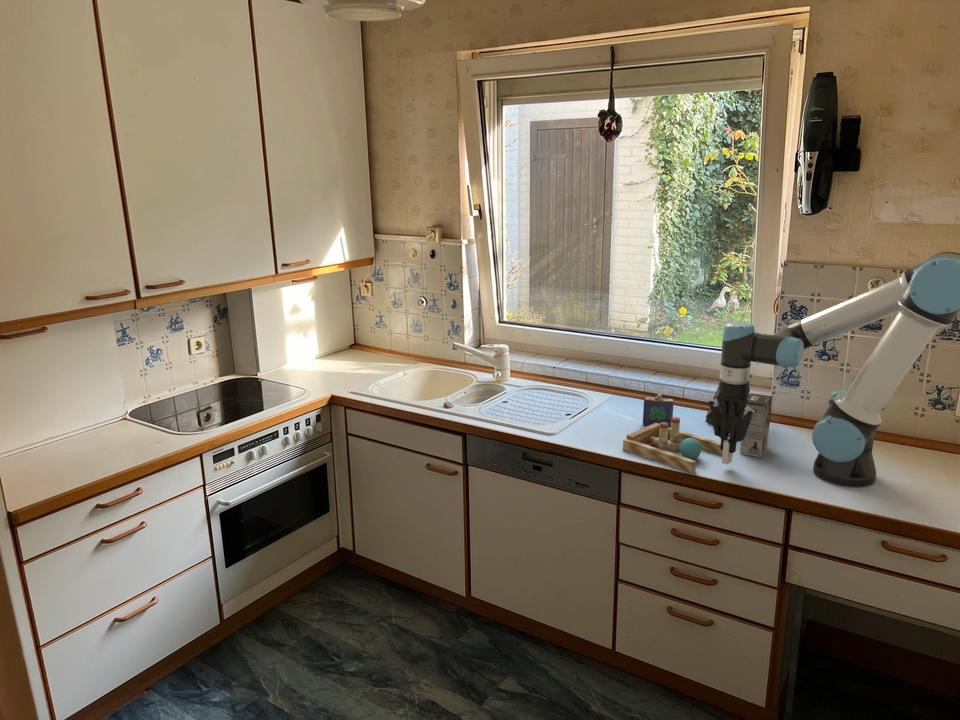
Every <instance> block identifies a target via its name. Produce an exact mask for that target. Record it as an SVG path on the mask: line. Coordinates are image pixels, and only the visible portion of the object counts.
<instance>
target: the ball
mask: <svg viewBox="0 0 960 720" xmlns="http://www.w3.org/2000/svg"><path fill="white" fill-rule="evenodd" d="M679 444H680V453H681V454H682V456H683V457H685V458H688V459H691V460H695V459H697V458H698V457H699V456H700V454H701V453H702V451H703V449H702V448H701V444H700V443H699V442H698V441H697V440H696V439H694V438H687V439H685V440H683V441H682V442H681V443H679Z"/></svg>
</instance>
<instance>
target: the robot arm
mask: <svg viewBox="0 0 960 720" xmlns="http://www.w3.org/2000/svg"><path fill="white" fill-rule="evenodd" d="M959 312H960V252H955V251H943V252H939V253H935V254H934V255H931V256H930V257H928V258H927V259H925V260H923V261H922V262H921V263H918V264H917V265H915V266H912V267H911V268H908V269H906V270H904V271H902V274H901V275H900V277H898V278H896V279H894V280H890V281H889V282H886V283H884V284H882V285H879V286H877V287H875V288H872V289H871V290H868V291H865V292H863V293H861V294H859V295H856V296H853V297H851V298H850V299H847V300H845V301H842V302H840V303H838V304H835V305H832V306H830V307H828V308H826V309H824V310H821V311H818V312H817V313H814V314H811V315H809V316H807V317H805V318H802V319H800V320H798V321H795V322H794V323H788V324H786V325H784V326H781V328H779V330H778V331H776V332H775V333H773V334H768V333H767V334H766V333H759V332H756V330H755V325H754V324H753V323H750V322H745V321H731V322H728V323H726V324H725V325H724V328H723V334H722V335H723V336H722V339H721V340H722V344H721V357H720V359H721V360H720V370H719V378H720V380H719V381H718V386H719V390H718V392H719V394H718V396H717V399H713V398H712V399H713V400H712V399H711V400H709V401H708V402H707V404H708V406H709V407H710V408H711V412H712V419H713V426H712V427H713V431H714V432H713V433H714V435H715V436H716V437H718V438H720V443H721V446H720V449H721V450H722V451H723V455H721V457H722V459H721V464H724V465H726V466H727V465H729V464H730V463H732V462H733V454H734V453H736V451H737V444H738V443H741V441H742V440H743V439H744V438H745V435H746V432H747V429H748V427H749V424H750V421H751V418H752V416H753V415H754V414H755V413H756V410H755V409H751V408H750V407H749V406H748V400H747V396H748V389H749V388H750V379H751V378H750V374H751V366H752V365H751V364H752V362H753V363H757V364H758V363H759V364H760V363H761V364H765V365H772V366H777V367H778V366H779V367H782V368H798V367H799V366H800V364H801V362H802V360H803V356H804V350H807V349H809V348H812V347H814V346H816V345H819V344H822V343H823V342H826V341H828V340H831V339H834V338H837V337H839V336H841V335H844V334H847V333H849V332H851V331H854V330H857V329H859V328H861V327H864V326H866V325H868V324H869V325H870V324H872V323H874V322H877V321H879V320H882V319H885V318H886V317H889V316H893V315H894V314H896V313H897V314H896V316H895V318H894V319H893V320H892V321H891V323H890V325H889V326H888V328H887V329H886V331H885V332H884V334H883V335H882V337H881V338H880V340H879V341H878V343H877V344H876V347H874V349H873V351H872V352H871V354H870V355H869V356H868V358H867V359H866V361H865V363H864V364H863V366H862V367H861V369H860V370H859V372H858V373H857V375H856V376H855V378H854V380H853V381H852V383H851V385H850V386H849V387H848V389H847V390H835V391H832V392H830V395H829V398H827V399H828V407H827V409H826V410H825V412H824V413H823V415H822V416H821V418H820V419H819V421H818V422H816V423H815V425H814V426H813V429H812V433H811V438H812V443H813V446H814V447H815V449H816V451H817V452H818V454H817V456H816V458H815V460H814V462H813V465H812V466H813V468H812V472H813V474H814V475H815V476H816V477H817V478H819V479H821V480H823V481H824V482H827V483H829V484H832V485H833V484H834V485H837V486H842V487H848V488H865V487H869V486H872V485H874V484H875V483H876V480H877V469H876V464H875V460H874V456H873V455H874V454H873V449H874V442H875V435H876V431H877V429H879V426H881V424H882V417H881V414H880V413H881V411H882V409H884V407H885V405H886V404H887V403H888V401H889V400H890V399H891V397H892V395H893V394H894V392H895V391H896V389H897V388H898V387H899V385H900V384H901V383H902V381H903V380H904V378H905V377H906V375H907V374H908V373H909V371H910V369H912V367H913V365H914V364H915V363H916V361H917V360H918V358H919V357H920V355H921V354H922V352H923V351H924V349H925V348H926V346H927V345H928V344H929V342H930V340H931V339H932V338H933V336H934V335H935V334H936V332H937V331H938V329H940V328H945V327H948V326H950V325H951V324H952V322H953V321H954V320H955V319H956V317H957V315H958V314H959ZM748 381H749V383H748ZM719 405H720V407H721V409H722V414H720V407H719ZM744 409H745V412H744V414H745V416H744V417H743V420H742V423H741V425H740V428H739V419H740V416H741V412H742V411H743V410H744ZM721 415H722V421H721ZM730 419H731V424H730ZM729 430H730V434H729ZM738 430H739V431H738Z"/></svg>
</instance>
